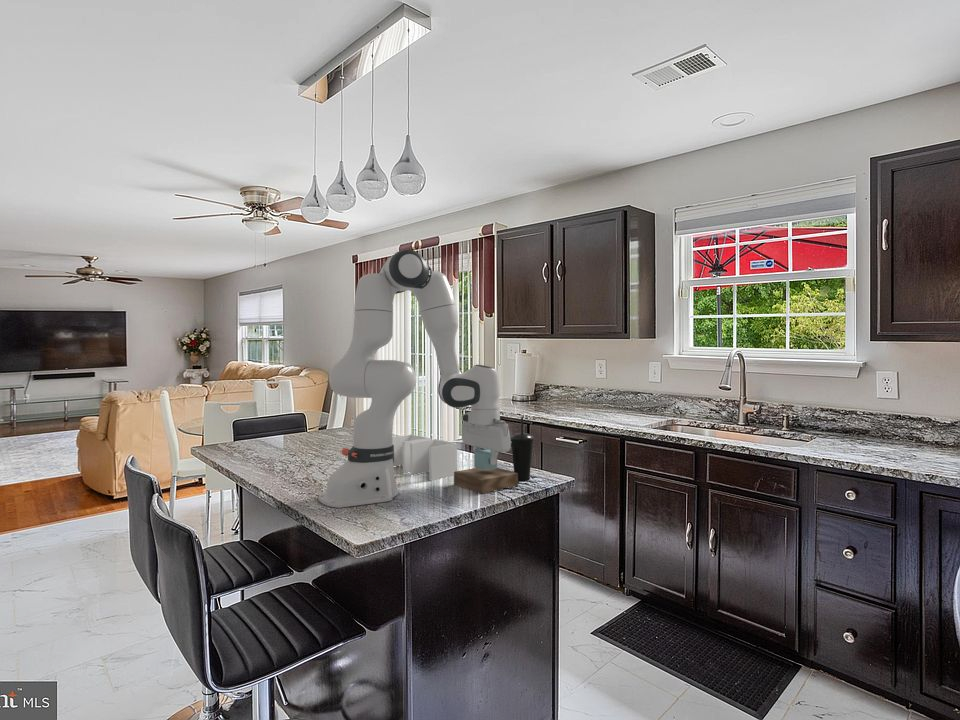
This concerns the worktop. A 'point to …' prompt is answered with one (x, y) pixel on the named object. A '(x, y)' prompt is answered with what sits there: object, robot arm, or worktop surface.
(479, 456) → the teal cube
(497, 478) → the walnut base
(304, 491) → the worktop surface
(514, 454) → the drinking cup
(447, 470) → the storage container
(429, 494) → the worktop surface
